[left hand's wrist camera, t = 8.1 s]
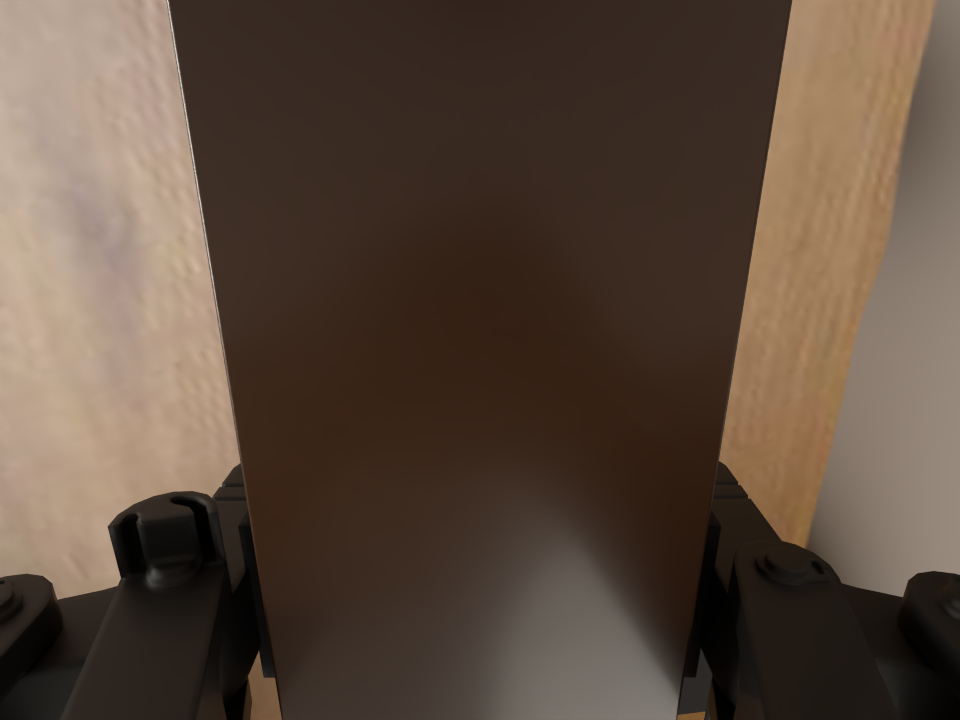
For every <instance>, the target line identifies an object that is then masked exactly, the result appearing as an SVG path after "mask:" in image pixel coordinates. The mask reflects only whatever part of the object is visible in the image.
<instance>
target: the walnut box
mask: <svg viewBox="0 0 960 720" xmlns="http://www.w3.org/2000/svg"><path fill="white" fill-rule="evenodd" d="M166 1H167V7H168V13H169V19H170V26H171V32H172V38H173V44H174V51H175V57H176V63H177V69H178V75H179V82H180V88H181V94H182V100H183V107H184V113H185V119H186V125H187V131H188V138H189V144H190V150H191V156H192V163H193V169H194V175H195V181H196V188H197V194H198V200H199V206H200V212H201V219H202V225H203V231H204V237H205V244H206V250H207V256H208V262H209V268H210V275H211V281H212V287H213V293H214V300H215V306H216V312H217V318H218V325H219V331H220V337H221V343H222V349H223V356H224V362H225V368H226V374H227V381H228V387H229V393H230V399H231V405H232V412H233V418H234V424H235V430H236V437H237V443H238V449H239V455H240V462H241V468H242V474H243V480H244V486H245V493H246V499H247V505H248V511H249V518H250V524H251V530H252V536H253V542H254V549H255V555H256V561H257V567H258V574H259V580H260V586H261V592H262V599H263V605H264V611H265V617H266V623H267V630H268V636H269V642H270V648H271V655H272V661H273V667H274V673H275V679H276V686H277V692H278V698H279V704H280V711H281V717H282V720H677V718H678V712H679V705H680V699H681V693H682V687H683V680H684V674H685V668H686V662H687V655H688V649H689V643H690V637H691V630H692V624H693V618H694V612H695V605H696V599H697V593H698V587H699V580H700V574H701V568H702V562H703V555H704V549H705V543H706V537H707V530H708V524H709V518H710V512H711V505H712V499H713V493H714V487H715V480H716V474H717V468H718V462H719V455H720V449H721V443H722V437H723V430H724V424H725V418H726V411H727V405H728V399H729V393H730V386H731V380H732V374H733V368H734V361H735V355H736V349H737V343H738V336H739V330H740V324H741V318H742V311H743V305H744V299H745V293H746V286H747V280H748V274H749V268H750V261H751V255H752V249H753V243H754V236H755V230H756V224H757V218H758V211H759V205H760V199H761V193H762V186H763V180H764V174H765V168H766V161H767V155H768V149H769V143H770V136H771V130H772V124H773V118H774V111H775V105H776V99H777V93H778V86H779V80H780V74H781V68H782V61H783V55H784V49H785V43H786V36H787V30H788V24H789V18H790V11H791V5H792V0H166Z"/></svg>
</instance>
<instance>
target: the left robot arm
mask: <svg viewBox="0 0 960 720" xmlns="http://www.w3.org/2000/svg"><path fill="white" fill-rule="evenodd" d="M108 530H109V534H110V537H111V541H112V545H113V549H114V553H115V557H116V560H117V564H118V568H119V572H120V576H121V580H120V582H119V585H118V586H116V587H113V588H109V589H106V590H102V591H97V592H92V593H88V594H83V595H78V596H73V597H69V598H64V599H59V600H57V598H56V594H55V591H54V588H53V585H52V583H51V582H50V581H48V580H47V579H46V578H45V577H43V576H38V575H31V574H21V575H13V576H5V577H2V578H0V720H250V715H251V706H252V698H251V691H250V685H249V680H248V675H249V673H250V670H251V668H252V665H253V663H254V661H255V658H256V656H257V654H258V651H259V653H260V659H261V665H262V670H263V676H264V678H275V673H274V667H273V661H272V655H271V648H270V642H269V636H268V630H267V623H266V617H265V611H264V605H263V599H262V592H261V586H260V580H259V574H258V567H257V561H256V555H255V549H254V542H253V536H252V530H251V524H250V518H249V511H248V505H247V499H246V493H245V486H244V480H243V474H242V468H241V463H240V464H239V465H237V466H236V467H234V468H233V470H232V471H231V472H230V474H229V475H228V476H227V478H226V479H225V481H224V482H223V483H222V487H219V489H218V490H217V491H216V493H215V494H214V495H213V497H212V498H211V497H210V496H209V495H207V494H203V493H198V492H194V491H184V492H171V493H166V494H162V495H157V496H153V497H151V498H148V499H146V500H143V501H141V502H138V503H136V504H134V505H132V506H131V507H129V508H128V509H126V510H124V511H123V512H121V513H120V514H118V515H117V516H116V518H115V519H114V520H113V521H112V522H111V523H110V525H109V526H108ZM701 649H702V652H703V654H704V656H705V659H706V661H707V663H708V666H709V668H710V670H711V673H712V680H711V685H710V691H709V696H708V702H707V707H706V713H705V718H704V720H960V575H957V574H953V573H945V572H937V571H931V572H924V573H918V574H916V575H915V576H914V577H912V578H911V579H910V580H909V581H908V583H907V586H906V590H905V593H904V596H903V597H899V596H894V595H889V594H885V593H880V592H875V591H871V590H866V589H861V588H856V587H853V586H849V585H846V584H842V583H841V581H840V579H839V577H838V576H837V574H836V573H835V571H834V570H833V569H832V567H831V566H830V565H829V564H828V563H827V562H825V561H824V560H823V559H821V558H820V557H819V556H817V555H816V554H815V553H813V552H811V551H808V550H806V549H804V548H802V547H800V546H798V545H795V544H791V543H787V542H783V541H781V539H780V538H779V537H778V535H777V534H776V533H775V531H774V530H773V528H772V527H771V526H770V524H769V523H768V522H767V520H766V519H765V518H764V516H763V515H762V514H761V512H760V511H759V510H758V508H757V507H756V506H755V504H754V503H753V501H752V500H751V499H748V495H747V493H746V492H745V491H744V489H743V488H742V487H741V485H738V481H737V480H736V479H735V477H734V476H733V475H732V473H731V472H730V470H729V469H728V468H727V466H726V465H724V464H723V463H721V462H720V461H719V462H718V468H717V474H716V480H715V487H714V493H713V499H712V505H711V512H710V518H709V524H708V530H707V537H706V543H705V549H704V555H703V562H702V568H701V574H700V580H699V587H698V593H697V599H696V605H695V612H694V618H693V624H692V630H691V637H690V643H689V649H688V655H687V662H686V668H685V674H684V678H696V674H697V668H698V662H699V656H700V650H701Z"/></svg>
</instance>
